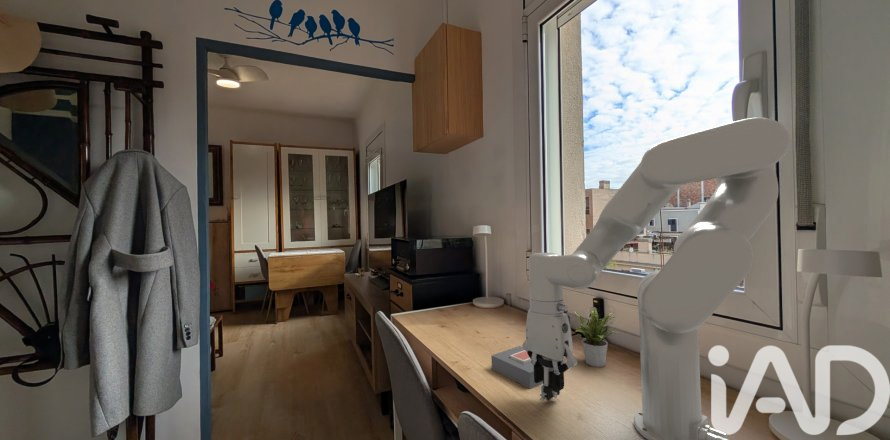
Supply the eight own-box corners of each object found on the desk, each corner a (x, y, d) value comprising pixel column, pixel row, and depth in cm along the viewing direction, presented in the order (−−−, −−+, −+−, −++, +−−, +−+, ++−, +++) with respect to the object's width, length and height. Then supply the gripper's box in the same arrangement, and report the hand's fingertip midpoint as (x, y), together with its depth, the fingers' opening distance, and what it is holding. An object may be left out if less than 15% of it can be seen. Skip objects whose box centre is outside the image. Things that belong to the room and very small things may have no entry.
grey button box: (559, 375, 87) (558, 360, 87) (530, 388, 80) (529, 372, 80) (520, 358, 99) (519, 345, 99) (491, 369, 92) (491, 355, 92)
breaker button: (538, 368, 89) (538, 355, 89) (524, 374, 86) (523, 360, 86) (524, 362, 93) (524, 350, 93) (510, 367, 90) (510, 355, 90)
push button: (551, 407, 69) (551, 361, 69) (530, 397, 73) (530, 354, 73) (566, 396, 74) (565, 352, 74) (545, 387, 78) (545, 346, 78)
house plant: (637, 375, 86) (635, 314, 87) (586, 376, 86) (584, 315, 87) (609, 354, 101) (608, 302, 101) (566, 355, 100) (564, 303, 101)
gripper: (589, 310, 69) (592, 395, 69) (528, 297, 83) (530, 368, 83) (569, 316, 65) (572, 407, 64) (508, 302, 79) (510, 376, 78)
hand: (548, 384), depth 73 cm, fingers closed on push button, 4 cm apart
